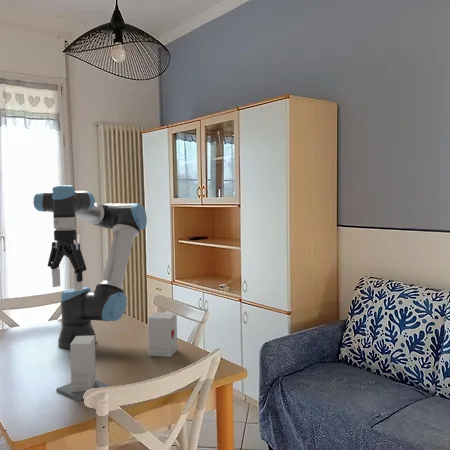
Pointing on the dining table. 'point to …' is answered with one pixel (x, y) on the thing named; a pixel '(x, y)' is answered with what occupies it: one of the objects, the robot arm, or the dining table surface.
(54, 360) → the dining table surface
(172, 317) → the supplement box
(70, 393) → the slate mat
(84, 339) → the skincare box
